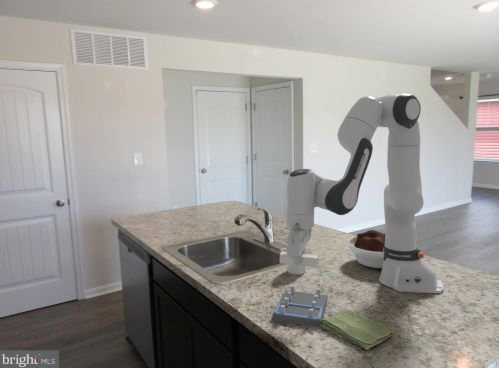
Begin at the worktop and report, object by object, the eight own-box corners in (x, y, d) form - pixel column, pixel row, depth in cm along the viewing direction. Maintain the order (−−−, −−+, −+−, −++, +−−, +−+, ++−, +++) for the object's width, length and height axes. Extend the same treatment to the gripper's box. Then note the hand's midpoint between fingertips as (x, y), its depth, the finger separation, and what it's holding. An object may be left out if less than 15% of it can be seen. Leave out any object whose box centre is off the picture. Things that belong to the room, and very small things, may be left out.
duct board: (327, 300, 129) (327, 288, 129) (320, 326, 112) (320, 312, 112) (285, 295, 134) (285, 283, 133) (272, 319, 117) (272, 306, 116)
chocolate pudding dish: (403, 256, 172) (404, 225, 169) (411, 277, 148) (412, 241, 146) (347, 252, 178) (348, 222, 176) (346, 272, 155) (347, 237, 152)
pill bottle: (291, 276, 151) (291, 240, 149) (284, 269, 159) (284, 235, 157) (309, 274, 153) (309, 239, 151) (301, 267, 161) (301, 233, 159)
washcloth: (368, 355, 99) (369, 344, 98) (318, 328, 113) (318, 318, 112) (395, 337, 107) (396, 327, 106) (345, 314, 121) (345, 305, 120)
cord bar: (318, 264, 119) (318, 255, 119) (316, 267, 117) (316, 258, 116) (281, 259, 123) (282, 251, 123) (279, 263, 121) (279, 254, 120)
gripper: (303, 229, 107) (302, 275, 109) (315, 214, 126) (313, 253, 128) (282, 227, 109) (281, 272, 111) (296, 212, 128) (295, 251, 130)
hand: (298, 262), depth 120 cm, fingers closed on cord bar, 3 cm apart
